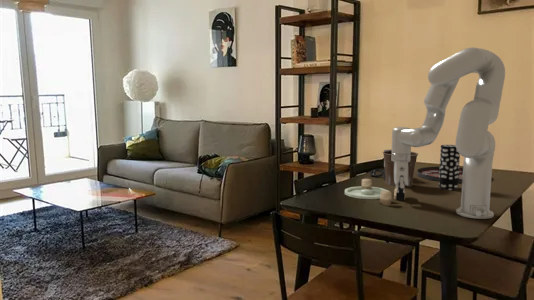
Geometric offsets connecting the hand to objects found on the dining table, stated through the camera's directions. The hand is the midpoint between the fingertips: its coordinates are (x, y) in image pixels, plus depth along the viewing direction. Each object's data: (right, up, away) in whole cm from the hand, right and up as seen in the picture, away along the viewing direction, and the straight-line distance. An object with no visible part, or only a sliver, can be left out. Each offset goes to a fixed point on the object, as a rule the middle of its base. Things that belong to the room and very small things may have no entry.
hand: (399, 200), depth 180 cm
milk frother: (+7, +6, +48) cm, 49 cm away
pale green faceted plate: (-11, +1, +9) cm, 15 cm away
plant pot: (+9, +3, +29) cm, 30 cm away
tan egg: (0, 0, 0) cm, 0 cm away
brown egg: (-7, -1, -5) cm, 8 cm away
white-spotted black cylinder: (+30, +3, +23) cm, 38 cm away
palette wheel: (+43, +6, +50) cm, 67 cm away
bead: (-10, +3, +14) cm, 18 cm away
